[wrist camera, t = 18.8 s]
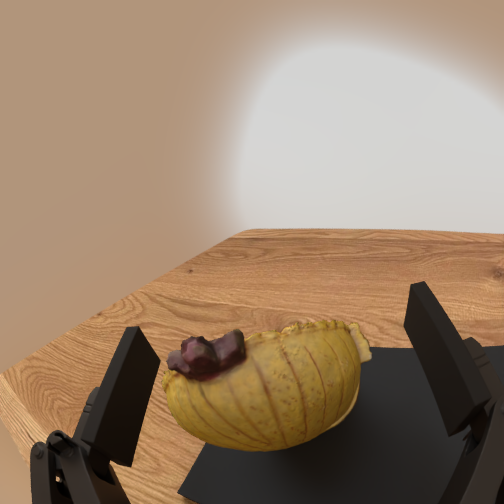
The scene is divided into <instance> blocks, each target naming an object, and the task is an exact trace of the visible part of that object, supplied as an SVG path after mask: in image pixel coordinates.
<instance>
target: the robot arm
mask: <svg viewBox="0 0 504 504" xmlns="http://www.w3.org/2000/svg"><path fill="white" fill-rule="evenodd" d="M404 328H405V331H406V333H407V335H408V337H409V339H410V341H411V343H412V345H413V348H414V350H415V352H416V354H417V357H418V359H419V361H420V363H421V366H422V368H423V370H424V373H425V375H426V378H427V380H428V382H429V385H430V387H431V390H432V392H433V395H434V398H435V400H436V403H437V406H438V408H439V411H440V414H441V417H442V419H443V422H444V425H445V428H446V431H447V434H448V437H450V436H453V435H455V434H457V433H459V432H461V431H464V430H465V429H466V427H467V426H468V425H470V427H471V430H470V431H469V432H468V433H467V434H466V435H465V436H464V438H463V441H465V440H466V439H467V441H466V444H465V446H464V449H463V451H462V454H461V456H460V459H459V461H458V464H457V466H456V468H455V470H454V473H453V475H452V477H451V479H450V481H449V483H448V485H447V487H446V489H445V491H444V493H443V495H442V497H441V499H440V501H439V502H438V504H493V502H494V499H495V497H496V495H497V497H496V501H495V504H504V386H503V384H502V382H501V380H500V379H499V377H498V375H497V373H496V371H495V369H494V367H493V365H492V364H491V363H490V360H489V358H488V356H487V355H486V353H485V351H484V350H483V348H482V346H481V344H480V343H478V342H477V341H476V340H475V339H474V338H472V337H470V338H467V339H465V340H462V338H461V337H460V335H459V333H458V332H457V330H456V328H455V327H454V325H453V323H452V322H451V320H450V319H449V317H448V316H447V314H446V312H445V311H444V309H443V308H442V306H441V305H440V303H439V302H438V300H437V299H436V297H435V296H434V294H433V293H432V291H431V290H430V288H429V287H428V286H427V284H426V283H425V281H423V282H419V283H414V284H411V285H410V292H409V298H408V304H407V310H406V316H405V321H404ZM160 362H161V360H160V359H159V357H158V356H157V354H156V353H155V351H154V350H153V348H152V347H151V345H150V344H149V342H148V340H147V339H146V337H145V336H144V334H143V332H142V331H141V329H140V328H139V326H136V327H127V328H126V330H125V332H124V334H123V336H122V338H121V340H120V342H119V345H118V347H117V349H116V351H115V353H114V356H113V358H112V360H111V362H110V365H109V367H108V369H107V371H106V374H105V376H104V378H103V381H102V383H101V386H100V387H95V389H94V390H93V391H92V392H91V393H90V395H89V397H88V399H87V402H86V405H85V407H84V409H83V412H82V414H81V417H80V419H79V422H78V425H77V427H76V430H75V433H74V435H73V437H72V438H70V437H69V436H68V435H66V434H65V433H64V432H62V431H60V430H56V431H53V432H52V433H51V434H50V435H49V436H48V438H47V441H46V444H45V443H43V442H37V443H35V444H34V445H33V447H32V449H31V454H30V472H31V493H32V504H131V503H130V501H129V500H128V498H127V496H126V494H125V492H124V490H123V488H122V486H121V484H120V482H119V480H118V478H117V476H116V474H115V471H114V469H113V467H112V466H111V465H110V460H111V461H113V462H115V463H116V464H118V465H122V466H126V467H131V466H132V462H133V458H134V454H135V450H136V446H137V442H138V438H139V435H140V431H141V427H142V423H143V420H144V416H145V413H146V409H147V405H148V402H149V398H150V395H151V392H152V388H153V385H154V381H155V378H156V375H157V372H158V368H159V365H160ZM56 476H57V477H59V478H60V481H59V482H57V481H56Z"/></svg>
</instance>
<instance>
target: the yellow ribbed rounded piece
mask: <svg viewBox="0 0 504 504" xmlns="http://www.w3.org/2000/svg"><path fill="white" fill-rule="evenodd" d="M298 323H299V322H298ZM298 323H296V324H295V325H293V326H292V327H291V326H290V327H286V328H284V329H283V331H282V332H281V333H279V332H277V331H276V330H272V331H267V332H262V333H255V334H253V335H251V336H250V337H249V338H247V339H245V340H244V335H243V333H242V332H241V331H240V330H239V329H236V330H233V331H231V332H228V333H227V334H225V335H224V336H223V337H222V338H218V339H216V340H212V341H207V340H205V339H204V337H203V336H200V337H192V336H191V337H190V338H188V339H186V340H183V341H182V344H181V350H175V351H172V352H170V353H169V354H168V359H167V361H166V362H167V364H168V369H169V370H168V371H164V374H165V376H163V380H162V381H161V382H162V387H163V389H164V391H165V393H166V394H167V402H168V406H169V410H170V412H171V414H172V416H173V417H174V419H175V420H176V421H177V423H178V424H179V425H180V426H181V427H182V428H183V429H184V430H185V431H187V432H188V433H190V434H191V435H193V436H195V437H197V438H199V439H200V440H202V441H205V442H207V443H209V444H212V445H216V446H219V447H223V448H230V449H236V450H242V451H251V452H257V451H263V452H266V451H274V450H280V449H287V448H290V447H293V446H296V445H299V444H301V443H304V442H307V441H309V440H311V439H313V438H315V437H317V436H318V435H319V434H321V433H324V432H326V431H328V430H329V429H331V428H332V427H335V426H336V425H338V424H339V423H340V422H342V421H344V420H345V418H346V417H347V416H348V415H349V414H350V412H351V411H352V409H353V407H354V406H355V405H356V403H357V399H358V395H359V391H360V372H361V364H362V363H364V362H367V361H370V360H371V358H372V353H371V352H370V350H369V349H370V345H369V342H368V340H367V339H366V338H365V337H364V335H363V334H362V333H361V332H360V330H359V325H358V323H357V322H356V323H353V322H352V323H351V324H349V326H348V325H346V324H345V323H344V322H343V321H339V322H338V321H336V320H332V321H331V322H327V321H326V320H322V321H318V322H315V323H312V322H310V323H309V322H308V323H307V324H304V325H303V324H302V325H298Z"/></svg>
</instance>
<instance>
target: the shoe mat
mask: <svg viewBox="0 0 504 504" xmlns="http://www.w3.org/2000/svg"><path fill="white" fill-rule="evenodd" d="M482 348H483V350H484V351H485V353H486V355H487V356H488V358H489V360H490V363H491V364H492V365H493V367H494V369H495V371H496V373H497V375H498V377H499V379H500V380H501V382H502V384H503V386H504V345H503V346H489V347H482ZM369 350H370V352H371V353H372V358H371V360H370V361H367V362H364V363H362V364H361V372H360V391H359V395H358V399H357V403H356V405H355V406H354V407H353V409H352V411H351V412H350V414H349V415H348V416H347V417H346V418H345V420H344V421H342V422H340V423H339V424H338V425H336V426H335V427H332V428H331V429H329V430H328V431H326V432H324V433H321V434H319V435H318V436H317V437H315V438H313V439H311V440H309V441H307V442H304V443H301V444H299V445H296V446H293V447H290V448H287V449H280V450H274V451H266V452H263V451H257V452H251V451H242V450H236V449H230V448H223V447H219V446H216V445H212V444H209V443H207V442H206V443H205V445H204V447H203V449H202V451H201V452H200V454H199V456H198V458H197V459H196V461H195V463H194V465H193V466H192V468H191V470H190V472H189V473H188V475H187V477H186V479H185V480H184V482H183V484H182V485H181V487H180V489H179V490H178V492H177V493H178V494H180V495H182V496H184V497H186V498H188V499H190V500H193V501H195V502H197V503H199V504H438V502H439V501H440V499H441V497H442V495H443V493H444V491H445V489H446V487H447V485H448V483H449V481H450V479H451V477H452V475H453V473H454V470H455V468H456V466H457V464H458V461H459V459H460V456H461V454H462V451H463V449H464V446H465V444H466V441H467V439H466V440H465V441H463V438H464V436H465V435H466V434H467V433H468V432H469V431H470V430H471V427H470V425H468V426H467V427H466V429H465V430H464V431H461V432H459V433H457V434H455V435H453V436H450V437H448V434H447V431H446V428H445V425H444V422H443V419H442V417H441V414H440V411H439V408H438V406H437V403H436V400H435V398H434V395H433V392H432V390H431V387H430V385H429V382H428V380H427V378H426V375H425V373H424V370H423V368H422V366H421V363H420V361H419V359H418V357H417V354H416V352H415V350H414V348H383V347H370V349H369ZM496 497H497V495H496ZM496 497H495V499H494V502H493V504H495V501H496Z"/></svg>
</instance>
